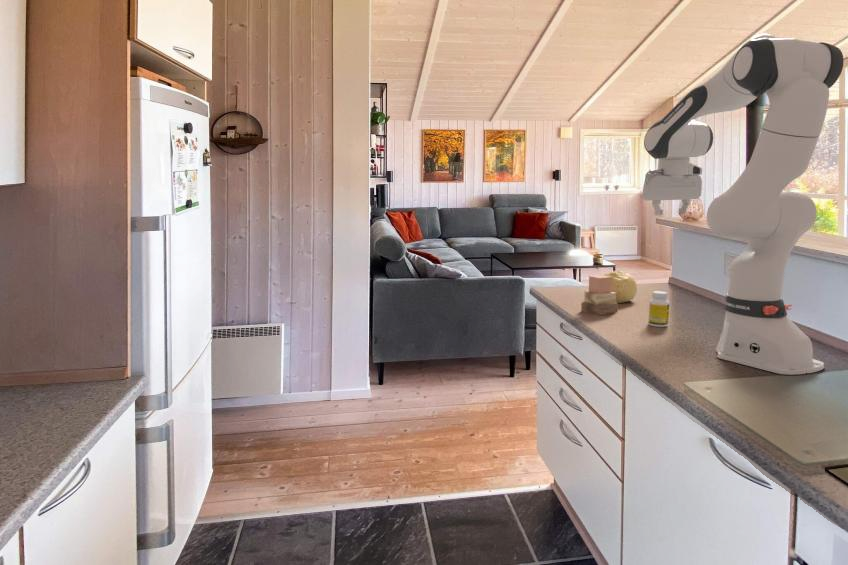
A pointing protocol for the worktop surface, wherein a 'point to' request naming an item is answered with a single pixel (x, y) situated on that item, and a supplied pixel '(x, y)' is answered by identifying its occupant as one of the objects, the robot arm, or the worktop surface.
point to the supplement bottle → (658, 309)
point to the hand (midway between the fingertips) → (670, 214)
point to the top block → (600, 298)
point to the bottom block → (598, 308)
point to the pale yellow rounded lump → (623, 286)
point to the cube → (600, 284)
